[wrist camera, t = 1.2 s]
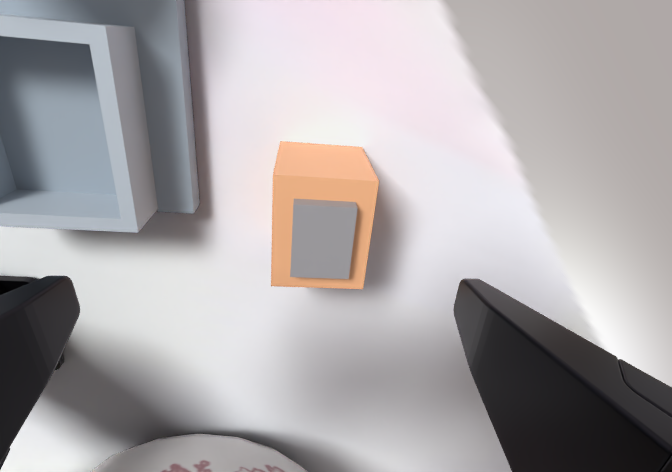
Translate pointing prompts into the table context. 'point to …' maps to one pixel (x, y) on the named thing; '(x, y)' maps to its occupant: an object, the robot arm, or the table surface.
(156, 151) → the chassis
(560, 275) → the table surface
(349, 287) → the orange box grey panel
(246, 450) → the chamber pot
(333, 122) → the table surface
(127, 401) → the table surface
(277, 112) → the table surface
